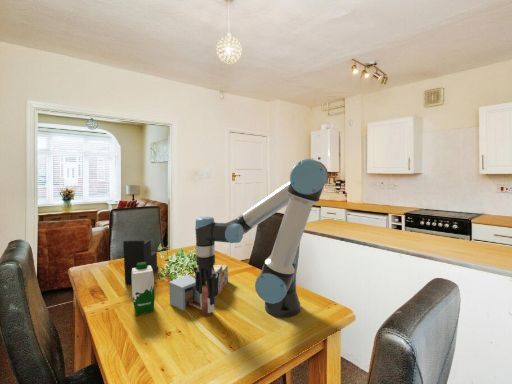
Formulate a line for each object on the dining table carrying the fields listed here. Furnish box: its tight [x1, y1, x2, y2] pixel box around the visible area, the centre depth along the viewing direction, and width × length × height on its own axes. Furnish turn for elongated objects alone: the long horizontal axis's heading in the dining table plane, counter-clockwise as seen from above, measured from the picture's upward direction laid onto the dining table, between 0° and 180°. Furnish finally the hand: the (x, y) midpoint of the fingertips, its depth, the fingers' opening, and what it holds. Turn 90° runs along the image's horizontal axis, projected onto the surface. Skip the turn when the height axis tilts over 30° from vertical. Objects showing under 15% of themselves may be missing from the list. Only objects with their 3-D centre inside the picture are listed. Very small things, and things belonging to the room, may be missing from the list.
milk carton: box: [131, 262, 156, 316], centre depth 118 cm, size 9×9×20 cm
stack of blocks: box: [206, 264, 229, 300], centre depth 139 cm, size 21×6×12 cm, turn 169°
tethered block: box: [185, 284, 213, 317], centre depth 120 cm, size 20×5×12 cm, turn 50°
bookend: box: [122, 239, 159, 285], centre depth 158 cm, size 23×11×24 cm, turn 2°
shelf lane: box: [168, 275, 200, 312], centre depth 124 cm, size 10×10×10 cm
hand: (207, 309), depth 115 cm, fingers closed on tethered block, 4 cm apart
